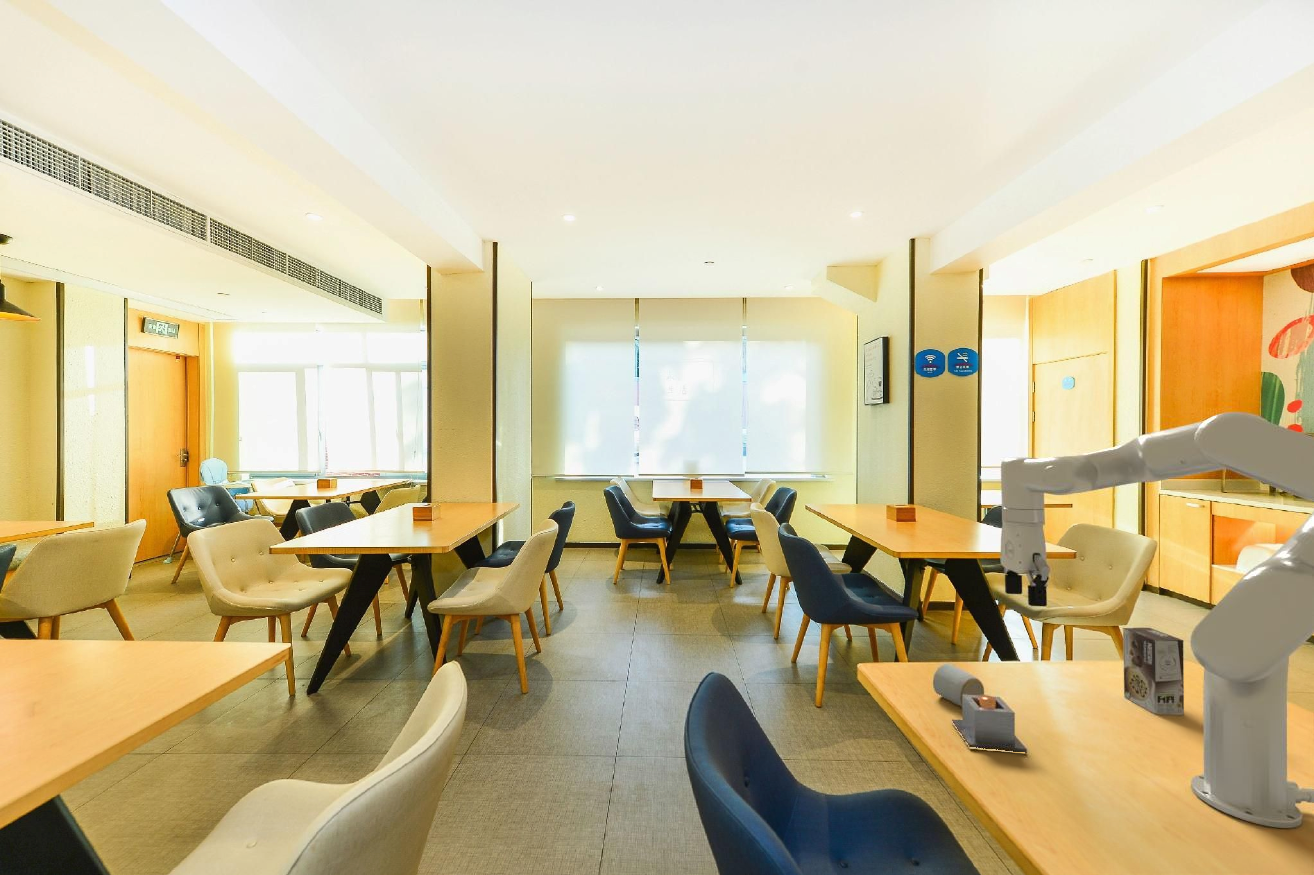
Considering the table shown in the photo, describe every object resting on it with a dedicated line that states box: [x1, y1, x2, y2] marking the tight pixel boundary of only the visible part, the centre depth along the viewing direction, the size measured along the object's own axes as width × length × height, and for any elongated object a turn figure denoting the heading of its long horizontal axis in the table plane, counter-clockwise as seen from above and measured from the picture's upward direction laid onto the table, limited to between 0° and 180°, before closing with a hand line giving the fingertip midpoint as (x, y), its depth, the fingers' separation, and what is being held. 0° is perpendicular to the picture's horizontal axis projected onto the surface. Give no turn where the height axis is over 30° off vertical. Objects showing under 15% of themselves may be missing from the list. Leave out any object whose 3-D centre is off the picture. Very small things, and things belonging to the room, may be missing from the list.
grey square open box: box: [961, 694, 1016, 744], centre depth 114 cm, size 7×7×6 cm
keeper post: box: [951, 694, 1028, 754], centre depth 114 cm, size 10×10×8 cm
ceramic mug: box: [932, 662, 986, 707], centre depth 130 cm, size 11×8×8 cm
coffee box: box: [1122, 627, 1185, 716], centre depth 129 cm, size 9×6×16 cm
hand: (1025, 599), depth 120 cm, fingers open, 9 cm apart
